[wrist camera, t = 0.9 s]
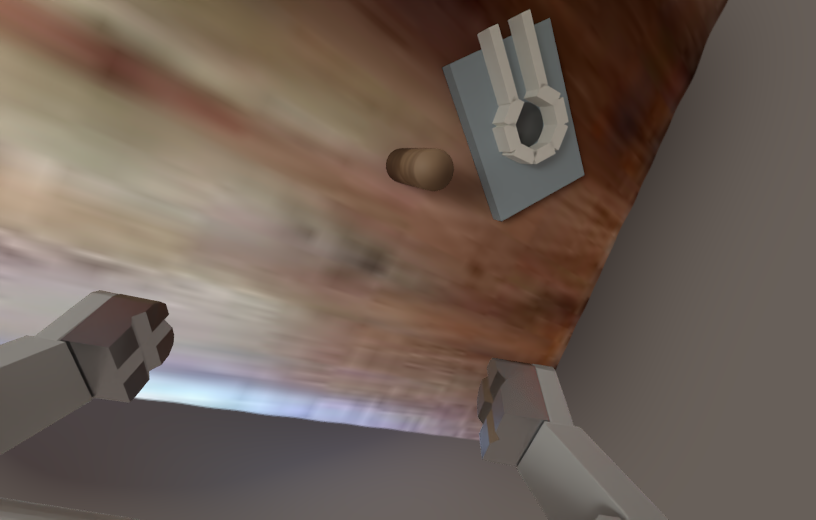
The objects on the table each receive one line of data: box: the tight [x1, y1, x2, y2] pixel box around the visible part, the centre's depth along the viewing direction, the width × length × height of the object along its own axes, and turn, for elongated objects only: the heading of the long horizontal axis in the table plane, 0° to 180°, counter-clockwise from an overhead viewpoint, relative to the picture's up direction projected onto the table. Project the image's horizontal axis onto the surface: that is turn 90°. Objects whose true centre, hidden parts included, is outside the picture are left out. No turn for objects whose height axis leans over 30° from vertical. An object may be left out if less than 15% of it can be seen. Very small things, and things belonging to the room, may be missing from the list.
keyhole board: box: [442, 9, 584, 222], centre depth 46 cm, size 22×14×4 cm, turn 24°
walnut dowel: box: [386, 148, 454, 191], centre depth 41 cm, size 4×4×10 cm
